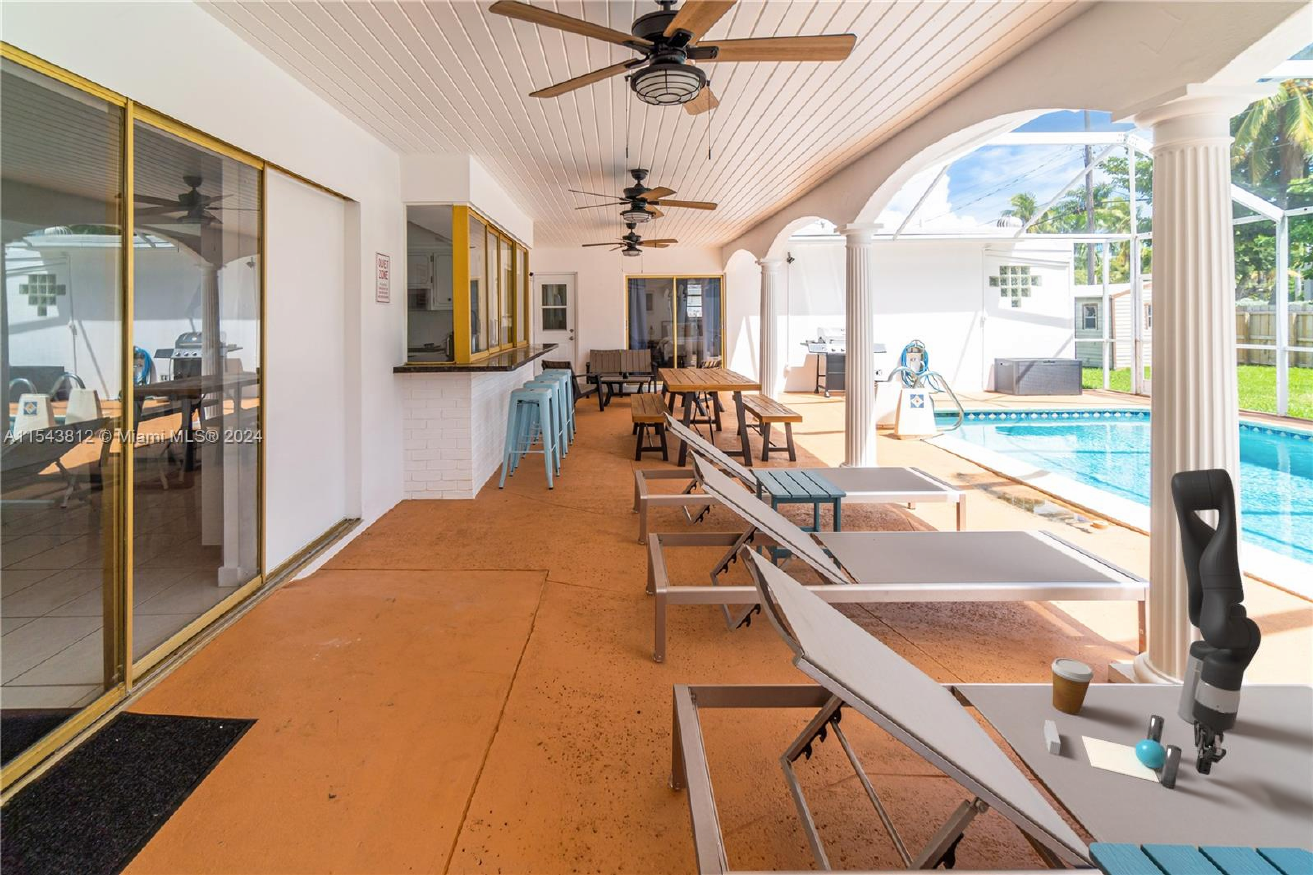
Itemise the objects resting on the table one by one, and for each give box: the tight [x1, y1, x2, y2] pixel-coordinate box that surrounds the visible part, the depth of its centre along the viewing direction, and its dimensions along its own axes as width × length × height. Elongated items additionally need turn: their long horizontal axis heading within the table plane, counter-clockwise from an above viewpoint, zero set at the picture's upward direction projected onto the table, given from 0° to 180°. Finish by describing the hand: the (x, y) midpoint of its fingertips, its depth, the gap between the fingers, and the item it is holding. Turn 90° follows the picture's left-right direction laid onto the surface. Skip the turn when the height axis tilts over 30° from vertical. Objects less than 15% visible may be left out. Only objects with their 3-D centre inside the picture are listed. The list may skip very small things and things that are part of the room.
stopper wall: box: [1043, 719, 1062, 756], centre depth 168 cm, size 10×2×3 cm, turn 157°
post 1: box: [1146, 714, 1165, 745], centre depth 165 cm, size 3×3×9 cm
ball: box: [1134, 739, 1166, 769], centre depth 160 cm, size 6×6×6 cm
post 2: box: [1159, 744, 1183, 790], centre depth 153 cm, size 3×3×9 cm
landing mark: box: [1081, 735, 1160, 784], centre depth 163 cm, size 13×13×1 cm
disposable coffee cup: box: [1051, 657, 1094, 715], centre depth 183 cm, size 10×10×12 cm
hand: (1202, 772), depth 156 cm, fingers closed
